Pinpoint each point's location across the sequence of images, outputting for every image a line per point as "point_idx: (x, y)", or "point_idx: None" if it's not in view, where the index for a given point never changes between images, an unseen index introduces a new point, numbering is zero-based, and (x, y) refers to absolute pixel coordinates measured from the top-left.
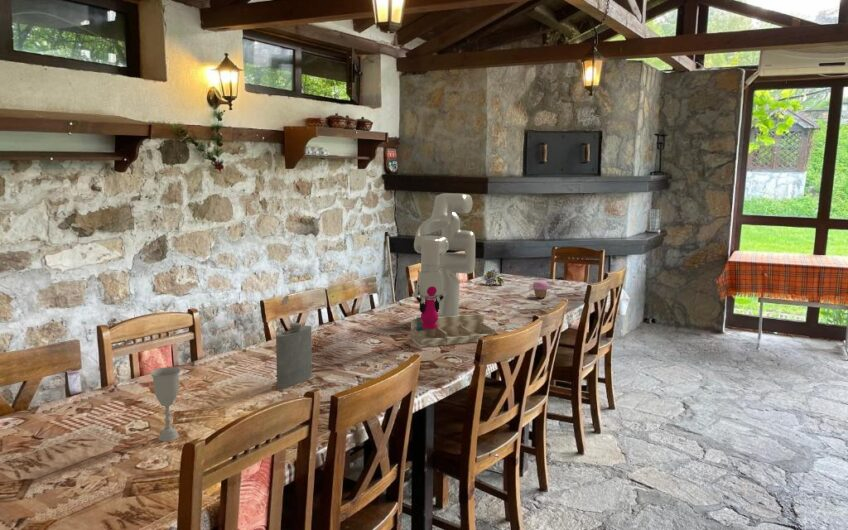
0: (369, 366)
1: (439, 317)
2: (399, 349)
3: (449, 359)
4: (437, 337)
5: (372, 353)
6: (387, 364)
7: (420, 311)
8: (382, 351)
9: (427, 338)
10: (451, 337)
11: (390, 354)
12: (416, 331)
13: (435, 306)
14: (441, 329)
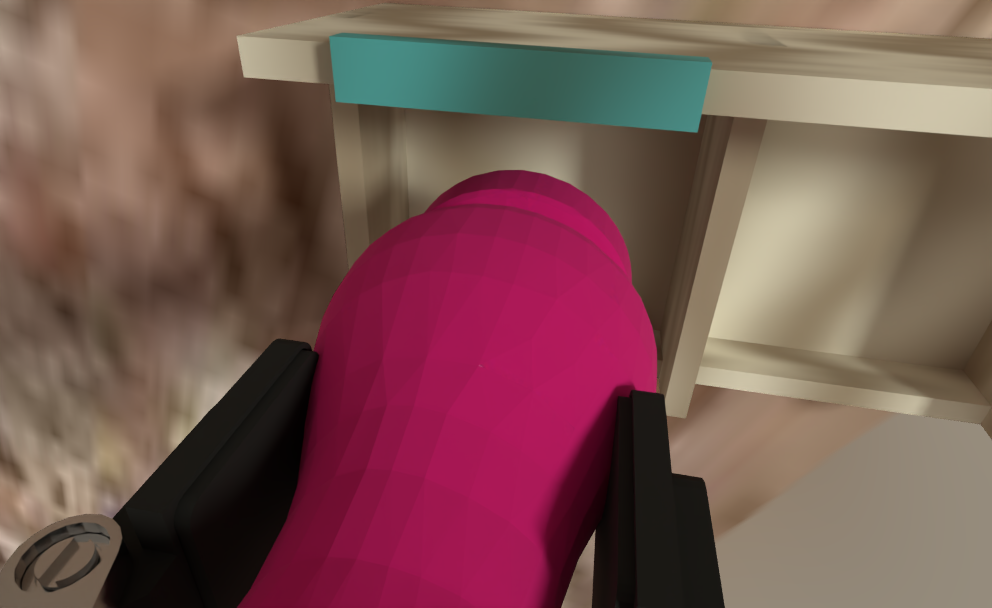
0: (25, 481)
1: (878, 121)
2: (210, 287)
3: None
4: (704, 128)
5: (7, 292)
6: (119, 497)
7: (280, 343)
8: (76, 279)
9: (561, 121)
10: (737, 384)
11: (136, 363)
12: (356, 207)
13: (603, 554)
14: (730, 250)
